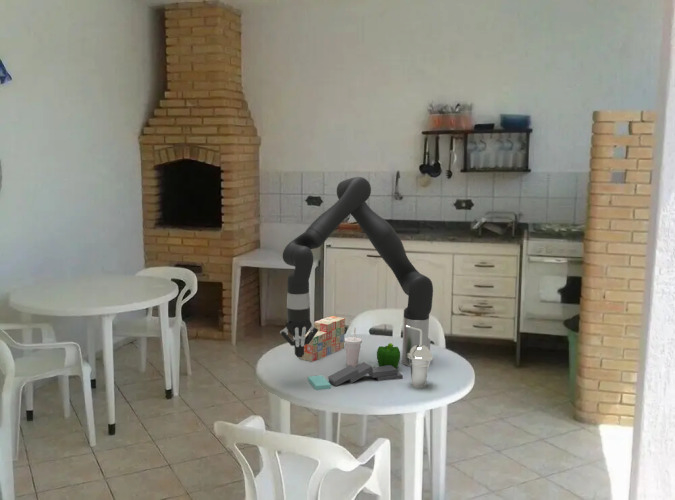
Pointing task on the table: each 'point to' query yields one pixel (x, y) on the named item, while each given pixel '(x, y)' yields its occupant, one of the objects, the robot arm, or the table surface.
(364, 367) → the domino
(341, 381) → the domino
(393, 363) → the bell pepper
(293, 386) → the table surface
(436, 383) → the table surface
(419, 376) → the cup with straw
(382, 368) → the domino
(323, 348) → the stack of blocks
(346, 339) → the smoothie
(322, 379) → the domino
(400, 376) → the domino
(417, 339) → the robot arm
